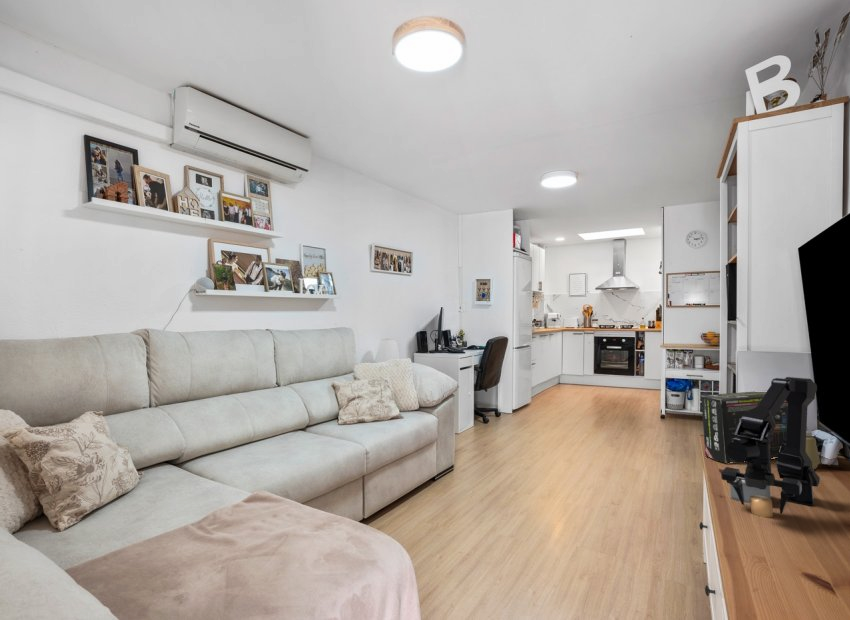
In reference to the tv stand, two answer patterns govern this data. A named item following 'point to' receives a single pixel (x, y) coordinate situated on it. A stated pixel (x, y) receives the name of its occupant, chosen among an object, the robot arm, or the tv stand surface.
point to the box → (750, 492)
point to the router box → (735, 422)
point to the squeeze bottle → (812, 449)
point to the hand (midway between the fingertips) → (761, 508)
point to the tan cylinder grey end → (761, 506)
